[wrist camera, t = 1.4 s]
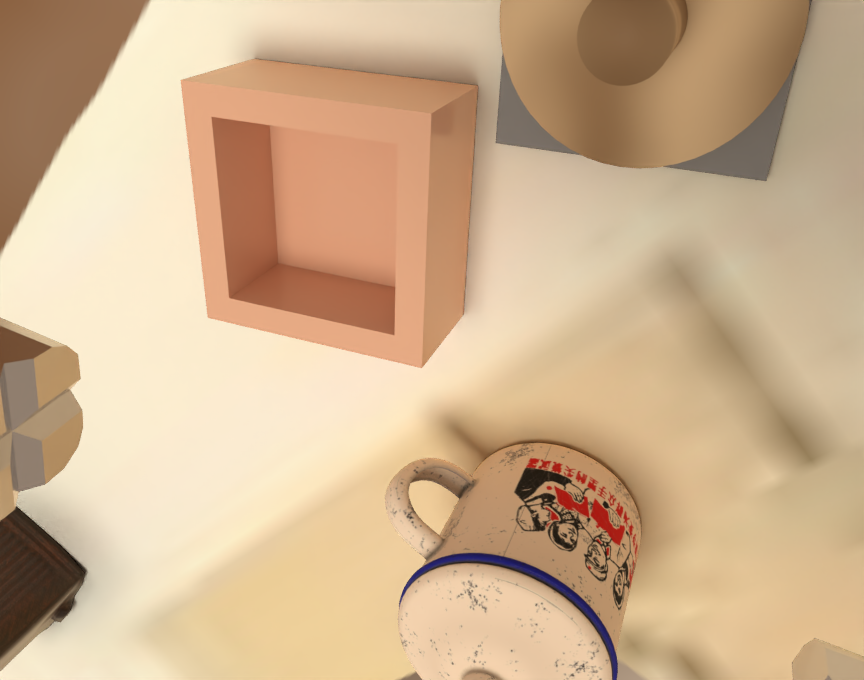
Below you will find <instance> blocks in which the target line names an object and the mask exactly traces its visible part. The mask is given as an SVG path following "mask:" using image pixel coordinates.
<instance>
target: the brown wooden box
mask: <svg viewBox="0 0 864 680" xmlns="http://www.w3.org/2000/svg"><path fill="white" fill-rule="evenodd" d="M84 574H85V573H84V571H83V570H82V569H81V568H80V567H79V566H78V564H77V563H76V562H75V561H74V560H73V559H72V558H71V557H70V556H69V554H68V553H67V552H66V551H65V550H64V549H63V548H62V547H61V546H60V545H59V544H58V543H57V542H56V541H55V540H53V539H52V538H51V537H50V536H49V535H48V534H47V533H45V532H44V531H43V530H42V529H41V528H40V527H39V526H38V525H36V524H35V523H34V522H33V521H32V520H31V519H30V518H29V517H27V516H26V515H25V514H24V513H23V512H22V511H21V510H20V509H18V508H17V507H15V510H13V511H12V512H11V513H10V514H8V515H7V516H6V517H5V518H4V519H2V520H1V521H0V671H1V670H2V669H3V668H4V667H5V666H6V665H7V664H8V663H9V662H10V661H11V660H12V659H13V658H14V657H15V656H16V655H17V654H18V653H20V652H21V651H22V650H23V649H24V648H25V647H26V646H27V645H28V644H29V643H30V642H31V641H32V640H33V639H34V638H35V637H36V636H37V635H38V634H40V633H41V632H43V631H44V630H46V629H47V628H48V627H49V626H50V625H51V624H52V623H53V622H54V621H57V622H61V621H62V620H63V619H64V618H65V617H66V616H67V615H68V614H69V612H70V610H71V604H72V602H73V598H74V596H75V594H76V593H77V591H78V590H79V588H80V587H81V584H82V581H83V578H84Z"/></svg>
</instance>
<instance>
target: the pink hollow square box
mask: <svg viewBox="0 0 864 680" xmlns="http://www.w3.org/2000/svg"><path fill="white" fill-rule="evenodd" d="M181 86H182V95H183V104H184V113H185V122H186V130H187V139H188V148H189V157H190V165H191V174H192V183H193V192H194V200H195V209H196V218H197V227H198V235H199V244H200V253H201V262H202V271H203V279H204V288H205V297H206V306H207V314H208V318H211V319H216V320H220V321H224V322H228V323H233V324H237V325H241V326H245V327H250V328H254V329H258V330H262V331H267V332H271V333H275V334H279V335H284V336H288V337H292V338H296V339H301V340H305V341H309V342H313V343H318V344H322V345H326V346H330V347H335V348H339V349H343V350H347V351H352V352H356V353H360V354H364V355H369V356H373V357H377V358H381V359H386V360H390V361H394V362H398V363H403V364H407V365H411V366H415V367H420V368H422V367H423V366H424V365H425V363H426V362H427V361H428V360H429V358H430V357H431V356H432V354H433V353H434V352H435V351H436V349H437V348H438V347H439V345H440V344H441V343H442V342H443V340H444V339H445V338H446V336H447V335H448V334H449V333H450V331H451V330H452V329H453V327H454V326H455V325H456V324H457V322H458V321H459V320H460V318H461V317H462V316H463V312H464V296H465V281H466V265H467V250H468V234H469V218H470V203H471V187H472V172H473V156H474V141H475V125H476V110H477V94H478V86H477V85H469V84H461V83H452V82H444V81H436V80H427V79H419V78H410V77H402V76H394V75H385V74H377V73H369V72H360V71H352V70H344V69H335V68H327V67H318V66H310V65H302V64H293V63H285V62H277V61H268V60H260V59H251V60H248V61H244V62H241V63H238V64H234V65H231V66H227V67H224V68H221V69H217V70H214V71H210V72H207V73H203V74H200V75H197V76H193V77H190V78H186V79H183V80H181Z"/></svg>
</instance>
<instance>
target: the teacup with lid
mask: <svg viewBox="0 0 864 680" xmlns="http://www.w3.org/2000/svg"><path fill="white" fill-rule="evenodd" d="M420 480H427V481H433V482H435V483H438V484H440V485H442V486H443V487H445V488H446V489H448V490H449V491H451V492H452V493H453V494H455V495H456V496H457V497H458V498H459V501H458V502H457V504H456V506H455V508H454V510H453V512H452V513H451V515H450V517H449V519H448V521H447V523H446V524H445V526H444V528H443V530H442V532H441V534H440V535H438V534H437V533H436V532H434V531H433V530H432V529H431V528H430V527H429V526H427V525H426V524H425V523H424V522H423V521H422V520H421V519H420V518H419V516H418V515H417V514H416V512H415V511H414V509H413V507H412V505H411V502H410V499H409V494H408V490H409V486H410V483H412V482H415V481H420ZM385 505H386V510H387V514H388V517H389V519H390V521H391V523H392V525H393V527H394V529H395V530H396V532H397V533H398V534H399V535H400V537H401V538H402V539H403V540H404V541H405V542H406V543H407V544H408V545H410V546H411V547H412V548H413V549H414V550H415V551H417V552H418V553H419V554H420V555H422V556H423V557H424V558H425V559H426V561H425V563H424V565H423V567H421V568H420V569H419V570H417V571H416V572H415V573H414V574H413V575H412V577H411V578H410V579H409V581H408V582H407V584H406V586H405V587H404V589H403V592H402V595H401V598H400V603H399V613H398V626H399V633H400V638H401V642H402V645H403V648H404V650H405V653H406V655H407V657H408V659H409V661H410V663H411V664H412V666H413V668H414V669H415V671H416V672H417V673H418V675H419V676H420V677H421V678H422V679H423V680H617V673H618V670H617V669H618V668H617V667H618V666H617V665H618V663H617V656H616V650H617V645H618V641H619V636H620V632H621V628H622V623H623V619H624V614H625V610H626V605H627V601H628V596H629V592H630V587H631V583H632V578H633V574H634V569H635V565H636V560H637V556H638V551H639V547H640V542H641V522H640V517H639V513H638V511H637V508H636V505H635V503H634V501H633V499H632V497H631V496H630V494H629V492H628V491H627V489H626V488H625V487H624V485H623V484H622V483H621V482H620V481H619V480H618V478H617V477H616V476H615V475H614V474H612V473H611V472H610V471H609V470H608V469H607V468H605V467H604V466H603V465H601V464H600V463H598V462H597V461H595V460H594V459H592V458H590V457H588V456H586V455H584V454H582V453H580V452H578V451H575V450H572V449H570V448H566V447H563V446H558V445H553V444H546V443H524V444H518V445H513V446H510V447H507V448H504V449H502V450H500V451H497V452H495V453H494V454H492V455H491V456H489V457H488V458H487V459H485V460H484V461H483V462H482V463H481V464H480V465H479V466H478V468H477V469H476V470H475V472H474V473H473V475H472V477H471V476H470V475H469V474H468V473H466V472H465V471H463V470H462V469H461V468H459V467H457V466H456V465H454V464H452V463H450V462H447V461H445V460H441V459H436V458H426V459H420V460H417V461H414V462H412V463H410V464H408V465H407V466H405V467H404V468H403V469H401V470H400V471H399V472H398V473H397V474H396V475H395V476H394V478H393V479H392V480H391V482H390V484H389V486H388V488H387V491H386V495H385Z"/></svg>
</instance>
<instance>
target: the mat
mask: <svg viewBox="0 0 864 680" xmlns="http://www.w3.org/2000/svg"><path fill="white" fill-rule="evenodd" d="M811 1H812V0H809V9H810V5H811ZM797 57H798V56H797ZM796 61H797V58H796ZM796 61H795V63H794V65H793V67H792V69H791V71H790V73H789V76H788V77H787V79H786V81H785V82H784V84H783V85H782V87H781V89H780V90H779V92H778V93H777V95H776V96H775V98H774V99H773V100H772V101H771V103H770V104H769V105H768V106H767V107H766V109H765V110H764V111H763V112H762V113H761V114H760V115H759V116H758V117H757V118H756V119H755V120H754V121H753V122H752V123H751V124H750V125H749V126H748V127H747V128H746V129H744V130H743V131H742V132H740V133H739V134H738V135H737V136H735V137H734V138H733V139H731V140H730V141H728V142H726V143H725V144H723V145H721V146H720V147H718V148H716V149H715V150H713V151H711V152H708V153H706V154H704V155H702V156H699V157H697V158H695V159H691V160H688V161H685V162H681V163H678V164H674V165H668V166H663V167H670V168H677V169H684V170H691V171H698V172H705V173H712V174H719V175H726V176H733V177H740V178H748V179H755V180H762V181H766V180H767V176H768V172H769V168H770V164H771V160H772V156H773V152H774V148H775V144H776V140H777V136H778V132H779V128H780V124H781V120H782V116H783V112H784V109H785V105H786V101H787V97H788V93H789V89H790V85H791V81H792V77H793V73H794V69H795V65H796ZM496 143H500V144H507V145H514V146H521V147H528V148H535V149H542V150H549V151H556V152H563V153H570V154H577V155H581V154H579V153H577V152H575V151H573V150H571V149H569V148H568V147H566V146H565V145H563V144H562V143H560V142H559V141H557V140H556V139H555V138H554V137H552V136H551V135H550V134H549V133H548V132H547V131H546V130H545V129H543V128H542V127H541V126H540V124H539V123H538V122H537V121H536V120H535V119H534V117H533V116H532V115H531V114H530V113H529V111H528V110H527V108H526V107H525V105H524V104H523V102H522V101H521V99H520V97H519V95H518V93H517V91H516V89H515V87H514V85H513V83H512V81H511V78H510V75H509V72H508V69H507V67H506V63H505V59H504V54H503V56H502V69H501V82H500V95H499V108H498V121H497V133H496Z"/></svg>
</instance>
